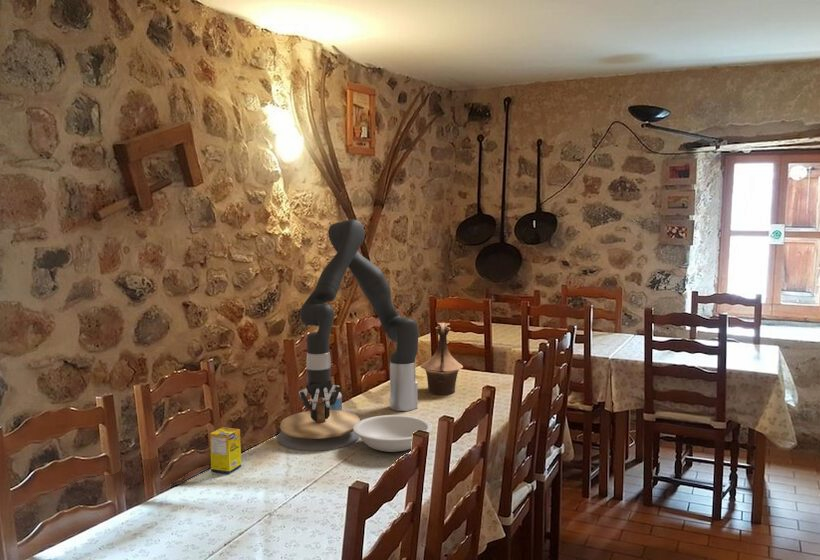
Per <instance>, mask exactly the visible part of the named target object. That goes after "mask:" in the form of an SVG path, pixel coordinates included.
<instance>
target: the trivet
mask: <svg viewBox="0 0 820 560" xmlns="http://www.w3.org/2000/svg"><path fill="white" fill-rule="evenodd" d="M277 436H278V437H276V439H277V443H278V444H279V443H280V445H281V446H282V447H285V448H288V449H291V450H295V451H302V452H303V451H304V452H322V451H323V452H324V451H331V450H332V451H333V450H338V449H342V448H345V447H347V446H350V445H353V444H354V443H356V442H357V441H359V439H360V436H359V435H357V434H356V433H354V431H352V432H350V433H348V434H345V435H341V436H337V437H331V438H321V439H306V438H297V437H292V436H289V435H286V434H285V433H283V432H282V431H281V430H280V432H279V433H278V434H277Z"/></svg>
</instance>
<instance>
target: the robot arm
mask: <svg viewBox="0 0 820 560" xmlns="http://www.w3.org/2000/svg"><path fill="white" fill-rule="evenodd" d="M327 233H328V239H329V241H330V244H331V245H332V247H333V248H334V250H335V252H336V253H335V255H334V256H333V258H332V259H331V260H330V261H329V262H328V263H327V264H326V266H325V267H324V269H322V271H321V274H320V275H319V277H318V281H317V283H316V286H315V288H314V290H313V291H312V292H311V293H310V295H309V296H308V297H307V299H306V300H305V301H304V302H303V304H302V306H301V308H300V311H299V312H300V313H299V315H300V317H299V318H300V321H301V322H302V323H303V324H304V325H306V326H315V327H318V329H317V331H316V332H312V333H309V334H308V335H307V336H306V381H307V382H306V386H305V388H304V389H302V390H298V391H297V394H298V396H299V397H300V400H301V402H302V404H303V406H304V407H305V408H306V409H307V410H308V409H309V411H310V412H311V419H313V420H314V421H317V410H316V404H317V402H319V401H318V399H322V402H325V419H328V417H329V416H330V406H331V405H334V404H335V402H336V399H337V397H338V394H339V392H340V390H341V387H339V386H340V385H338V386H337V384H333V383H332V371H331V369H332V368H331V366H332V362H331V354H330V337H331V332H332V327H333V324H334V321H335V320H334V319H335V312H334V309H333V307H332V305H331V304H328V303H330V302H332V301H334V300H336V297H337V295H338V292H339V289H340V286H341V284H342V281H343V279H344V277H345V274H346V272H347V270H348V269H349V270H350V272H351V274H352V275H353V276H354V279H355V280H356V282H357V283H358V285H359V287H360V289H361V291H362V292H363V294H364V296H365V297H366V298H367V300H368V302H369V304H370V305H371V308H372V309H373V311H374V312H375V314H376V316H377V317H378V319H379V321H380V324H381V326H382V327H383V330H384V332H385V335H386V336H387V338H388V339H389V340H391V341H392V342H395V343H396V350H395V351H393V352H391V353H390V355H389V356H390V358H389V386H390V387H389V396H390V397H389V398H390V399H389V404H390V405H389V406H390V407H389V408H390V409H391V410H393V411H397V412H408V411H412V410H415V409H418V407H419V405H418V404H419V403H418V398H419V397H418V396H419V395H418V392H419V391H418V389H419V388H418V387H419V386H418V382H417V381H416V357H417V354H418V348H419V327H418V324H417V322H416V321H415V320H413V319H411V318H408V317H407V318H405V317H403V316H401V315H400V314H399V313H398V311H397V310H396V308H395V306H394V304H393V301H392V291H391V287H390V284H389V282H388V280H387V278H386V276H385V275H384V272H383V271H382V270H381V269H380V267H378V266H377V265H376V264H374V263H373V262H371V261H370V260H369V259H368V258H366V257H364V256H363V254H361V253H360V251H359V249H360V247H361V246H362V244H363V242H364V239H365V235H366V234H365V233H366V231H365V228H364V225H363V224H362V222H361V221H360V220H358V219H355V218H352V219H346V220H341V221H337V222H334V223H333V224H331V225H330V226H329V228H328V232H327ZM331 388H332V394H331V397H330V399H329V397H328V393H329V392H330V390H331ZM308 394H309V395H310V396H309V397H310V398H309V399H310V400H309V401H310V402H309V401H308V399H307V396H308Z"/></svg>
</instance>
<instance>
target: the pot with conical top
mask: <svg viewBox="0 0 820 560" xmlns="http://www.w3.org/2000/svg"><path fill="white" fill-rule="evenodd" d="M437 325H438V326H436V327H435V330H436V333H437V334H438V336H439V337H438V345H437V349H436V351H435V353H434V354H433V355H432V356H431V357H430V358H429V359H428V360H426V361H425V362H423V363H421V365H420V368H422V369H423V370H424V371H425V373H426V380H427V392H428V393H430V394H433V395H434V394H435V395H451V394H454V393H455V392H456V383H457V378H458V374H459V371H460V370H461V369H463V368H464V366H463V365H462V364H461V363H460V362H458V360H457V359H455V358H454V357H453V356H452V354H451V352H450V351H449V347H448V341H447V340H448V339H447V336H448V334H449V332H450V330H451V327H449V326H450V325H451V323H450V322H437Z"/></svg>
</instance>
